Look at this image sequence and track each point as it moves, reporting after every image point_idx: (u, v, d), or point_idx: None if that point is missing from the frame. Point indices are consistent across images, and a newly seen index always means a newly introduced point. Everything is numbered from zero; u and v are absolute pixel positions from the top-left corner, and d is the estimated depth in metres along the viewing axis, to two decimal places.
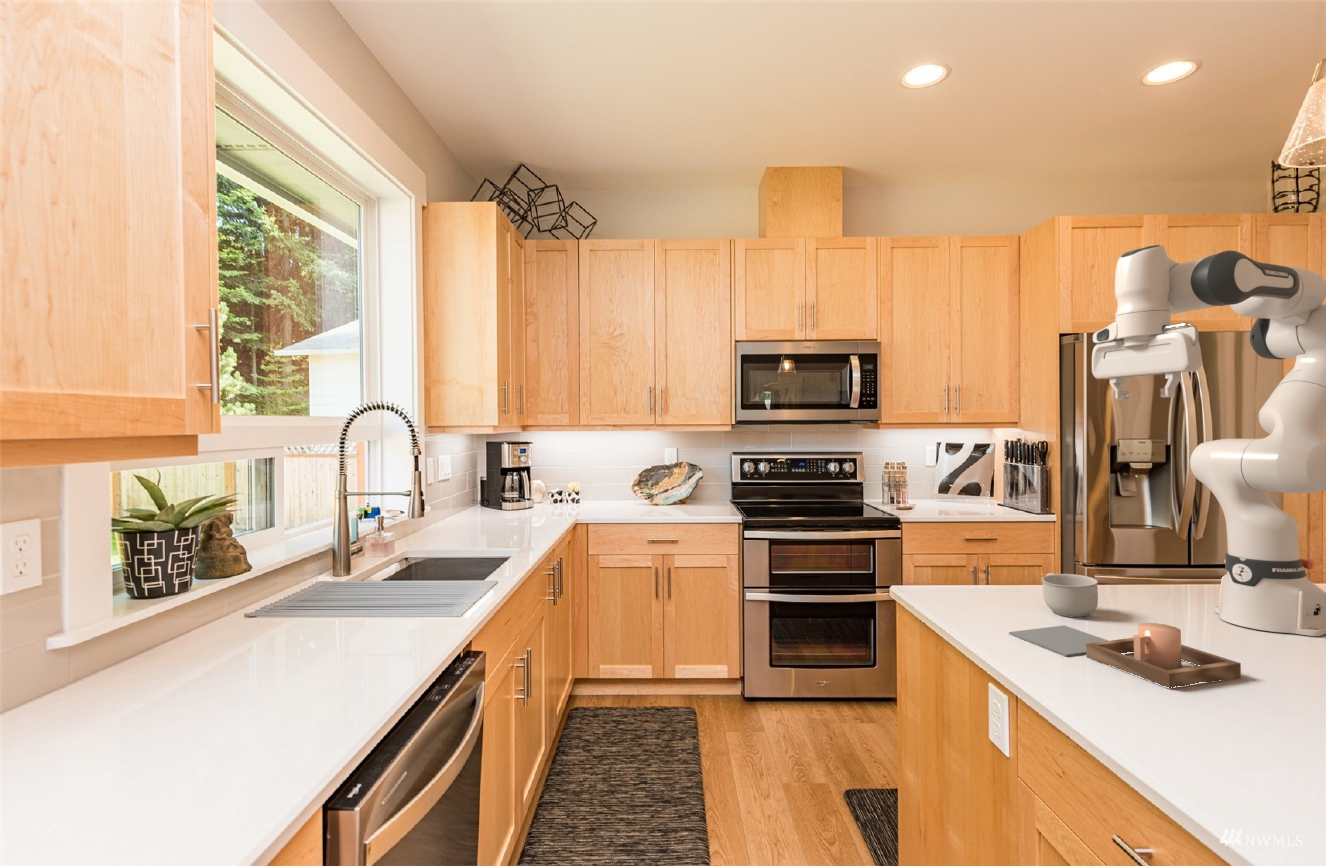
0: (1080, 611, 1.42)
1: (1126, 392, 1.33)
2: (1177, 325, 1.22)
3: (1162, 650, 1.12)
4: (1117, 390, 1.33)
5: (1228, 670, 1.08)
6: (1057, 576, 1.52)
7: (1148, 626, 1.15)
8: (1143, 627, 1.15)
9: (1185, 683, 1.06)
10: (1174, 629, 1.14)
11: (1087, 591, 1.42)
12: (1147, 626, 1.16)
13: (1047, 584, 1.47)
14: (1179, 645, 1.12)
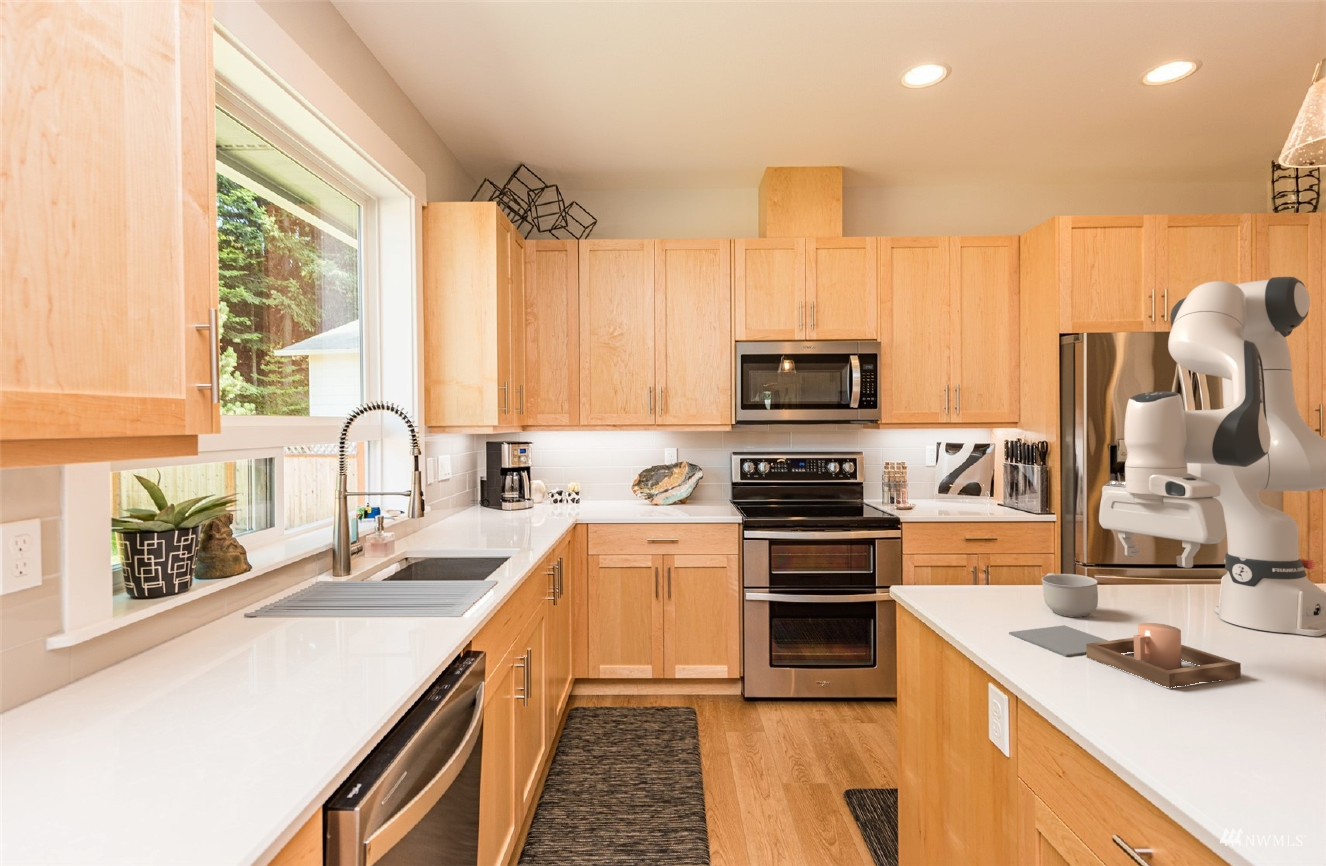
0: (1080, 611, 1.42)
1: None
2: None
3: (1162, 650, 1.12)
4: None
5: (1228, 670, 1.08)
6: (1057, 576, 1.52)
7: (1148, 626, 1.15)
8: (1143, 627, 1.15)
9: (1185, 683, 1.06)
10: (1174, 629, 1.14)
11: (1087, 591, 1.42)
12: (1147, 626, 1.16)
13: (1047, 584, 1.47)
14: (1179, 645, 1.12)
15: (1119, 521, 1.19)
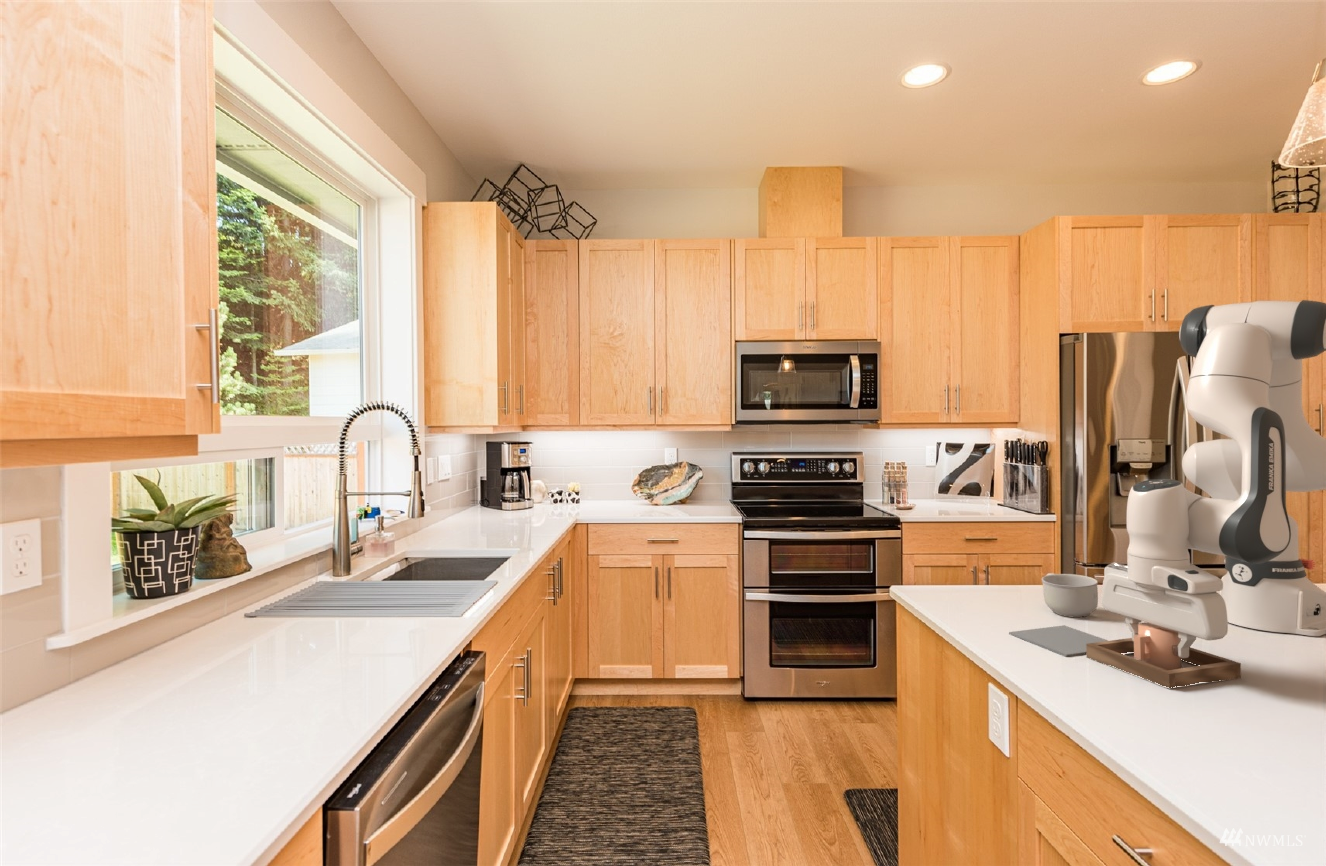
0: (1080, 611, 1.42)
1: None
2: None
3: (1162, 650, 1.12)
4: None
5: (1228, 670, 1.08)
6: (1057, 576, 1.52)
7: (1148, 626, 1.15)
8: (1143, 627, 1.15)
9: (1185, 683, 1.06)
10: None
11: (1087, 591, 1.42)
12: (1147, 626, 1.15)
13: (1047, 584, 1.47)
14: None
15: (1121, 606, 1.19)
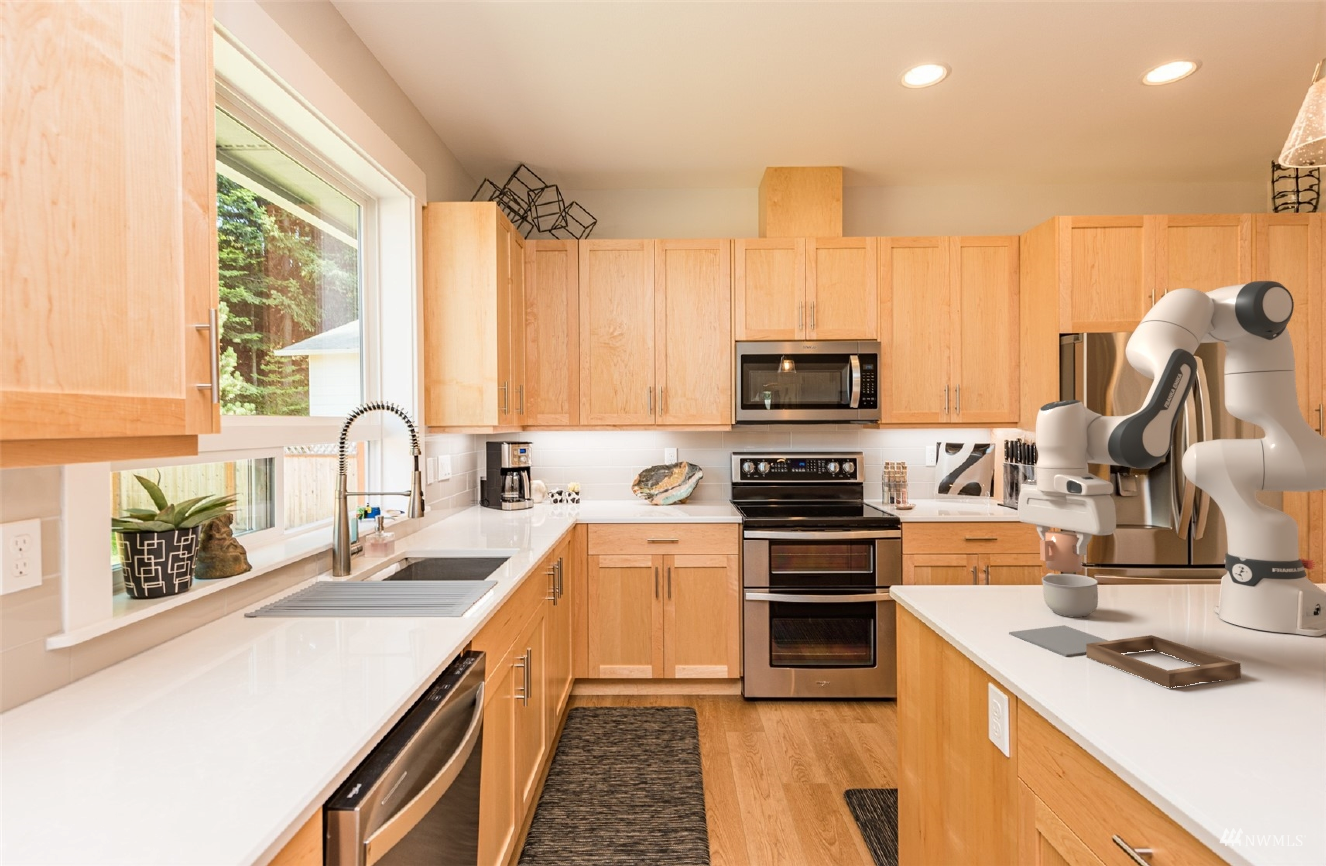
0: (1080, 611, 1.42)
1: None
2: None
3: (1064, 551, 1.26)
4: None
5: (1228, 670, 1.08)
6: (1057, 576, 1.52)
7: (1054, 533, 1.30)
8: (1049, 533, 1.29)
9: (1185, 683, 1.06)
10: (1075, 534, 1.28)
11: (1087, 591, 1.42)
12: (1053, 533, 1.30)
13: (1047, 584, 1.47)
14: None
15: (1033, 516, 1.34)
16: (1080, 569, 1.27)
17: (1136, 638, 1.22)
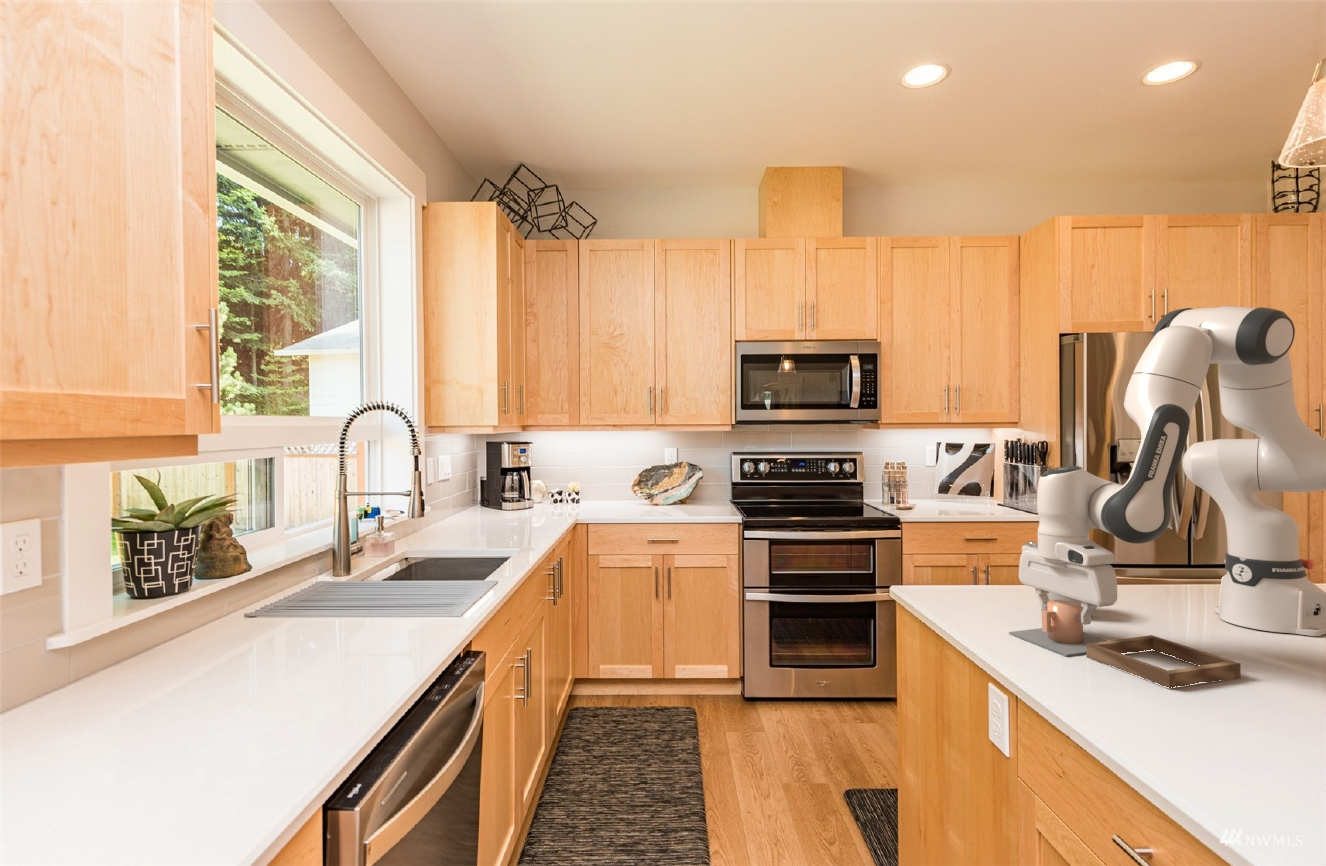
0: None
1: None
2: None
3: (1066, 623, 1.26)
4: None
5: (1228, 670, 1.08)
6: None
7: (1055, 603, 1.30)
8: (1051, 603, 1.30)
9: (1185, 683, 1.06)
10: (1077, 605, 1.28)
11: None
12: (1055, 603, 1.30)
13: None
14: None
15: (1034, 579, 1.34)
16: (1082, 641, 1.27)
17: (1136, 638, 1.22)
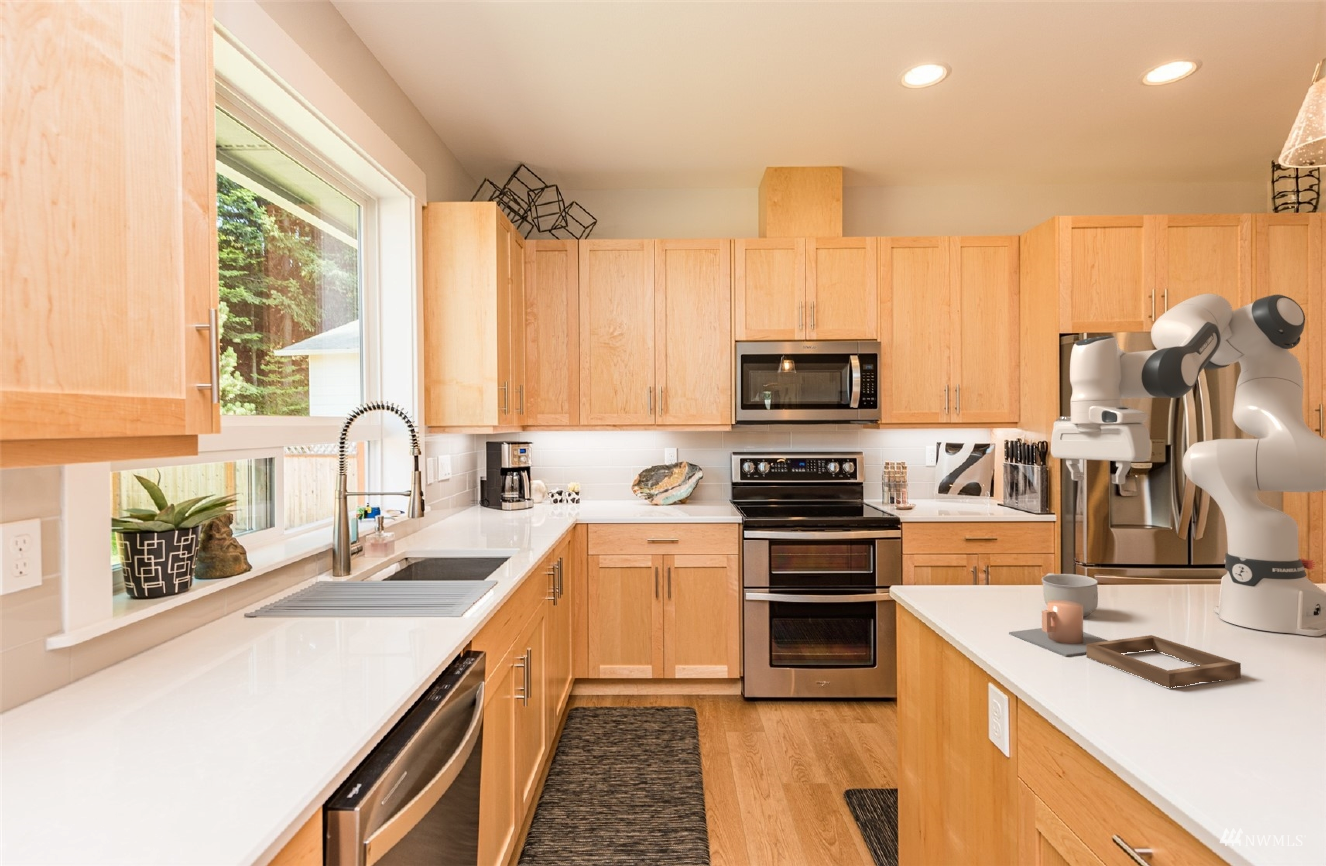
0: None
1: None
2: None
3: (1066, 623, 1.26)
4: None
5: (1228, 670, 1.08)
6: (1057, 576, 1.52)
7: (1056, 602, 1.30)
8: (1051, 603, 1.30)
9: (1185, 683, 1.06)
10: (1077, 605, 1.28)
11: (1087, 591, 1.42)
12: (1055, 603, 1.30)
13: (1047, 584, 1.47)
14: (1081, 619, 1.27)
15: (1066, 450, 1.38)
16: (1082, 641, 1.27)
17: (1136, 638, 1.22)
